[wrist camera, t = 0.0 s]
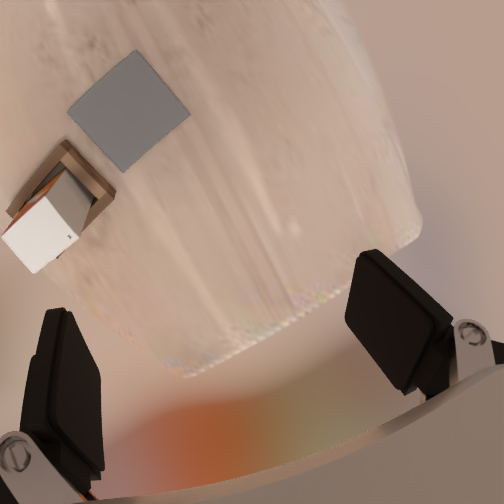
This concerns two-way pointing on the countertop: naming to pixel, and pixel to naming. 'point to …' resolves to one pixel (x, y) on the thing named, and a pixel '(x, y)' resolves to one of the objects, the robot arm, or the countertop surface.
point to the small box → (49, 221)
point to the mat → (128, 111)
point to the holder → (82, 173)
